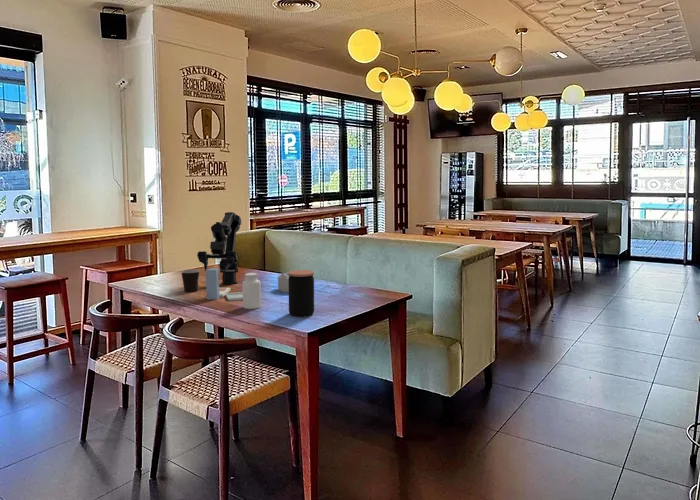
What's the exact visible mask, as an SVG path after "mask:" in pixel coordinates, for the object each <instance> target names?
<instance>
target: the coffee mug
mask: <svg viewBox="0 0 700 500" xmlns="http://www.w3.org/2000/svg"><path fill="white" fill-rule="evenodd" d="M181 278H182V285H183V290H184V293H196V292H198V291H199V290H198V289H199V279H200V270H198V269H188V270H187V269H185V270H181Z"/></svg>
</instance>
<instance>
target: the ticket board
mask: <svg viewBox="0 0 700 500" xmlns="http://www.w3.org/2000/svg"><path fill="white" fill-rule="evenodd" d="M230 291H231V287H219V296H220V297H219V298H223V297H226V296H225V293H230ZM205 298H207V296H205Z"/></svg>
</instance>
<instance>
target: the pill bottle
mask: <svg viewBox="0 0 700 500" xmlns="http://www.w3.org/2000/svg"><path fill="white" fill-rule="evenodd" d="M244 279H245V280H243V281H242V283H241V287H242V292H243V300H242V308H244V309H246V310H255V309H256V310H257V309H260V308H261V307H262V291H261V290H262V287H261V284H262V283H261V281H260V279H258V273H255V272H249V273H245V274H244Z"/></svg>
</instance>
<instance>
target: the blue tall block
mask: <svg viewBox="0 0 700 500" xmlns="http://www.w3.org/2000/svg"><path fill="white" fill-rule="evenodd" d="M219 288H220V267H219V268H218V267H217V268H215V267H212V268H210V267H209V268H208V267H207V269H206V271H205V291H206V293H205V294H206V296H207V297H206V296H205V297H206V300H219V299H220V298H221V297H220V296H219Z"/></svg>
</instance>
